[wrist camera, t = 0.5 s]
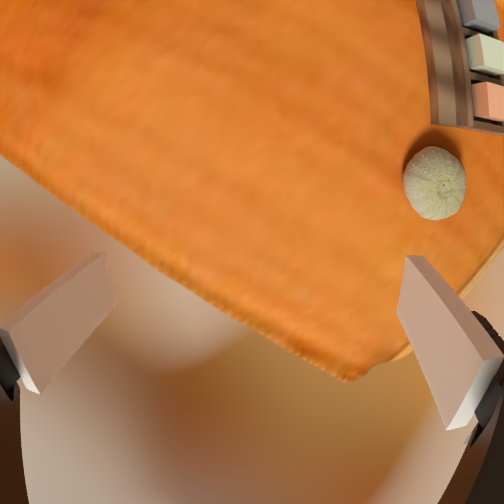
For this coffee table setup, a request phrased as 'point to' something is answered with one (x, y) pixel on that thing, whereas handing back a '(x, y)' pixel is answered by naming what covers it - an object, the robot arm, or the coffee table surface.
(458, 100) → the brown stepped piece
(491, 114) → the terracotta key
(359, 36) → the coffee table surface
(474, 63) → the sage key
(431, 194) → the sea urchin shell
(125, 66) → the coffee table surface
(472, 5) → the slate key
